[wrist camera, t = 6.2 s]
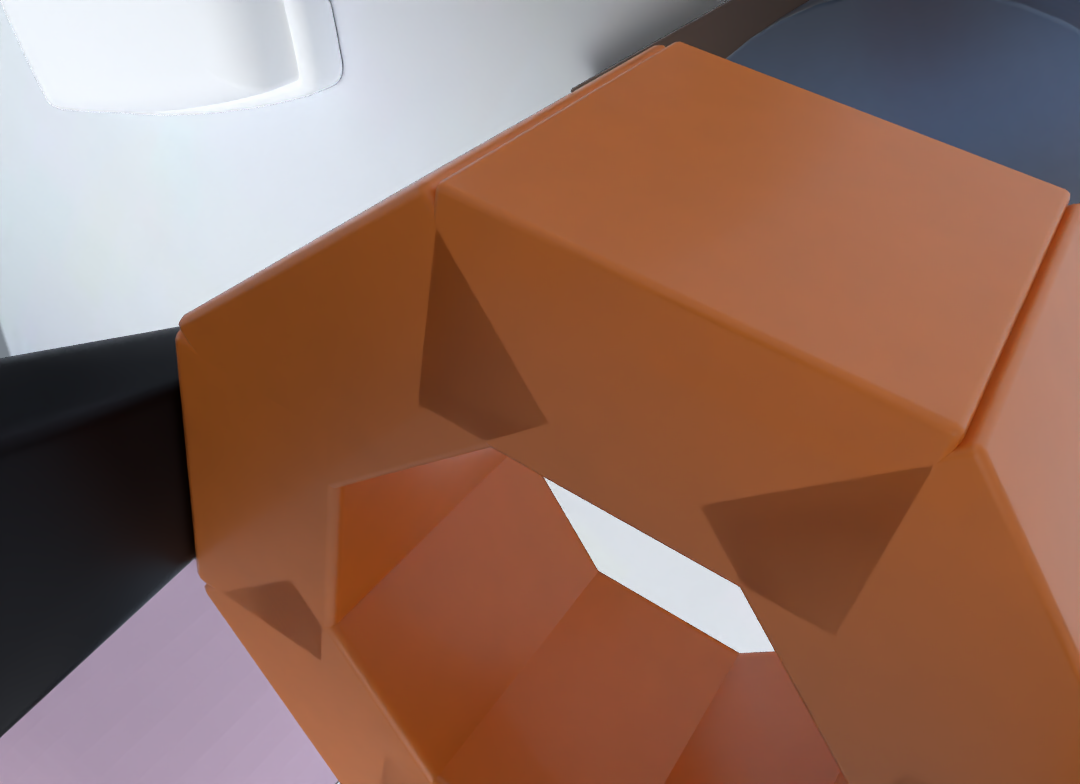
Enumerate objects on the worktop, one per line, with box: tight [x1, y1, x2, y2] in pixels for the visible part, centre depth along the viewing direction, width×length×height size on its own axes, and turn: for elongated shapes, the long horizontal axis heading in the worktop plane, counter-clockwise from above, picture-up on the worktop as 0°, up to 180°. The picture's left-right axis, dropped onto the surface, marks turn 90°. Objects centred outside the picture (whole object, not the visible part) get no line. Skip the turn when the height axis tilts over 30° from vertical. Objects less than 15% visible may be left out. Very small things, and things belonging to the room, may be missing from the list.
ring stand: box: [571, 0, 1080, 206], centre depth 15 cm, size 10×10×9 cm
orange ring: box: [175, 42, 1080, 784], centre depth 8 cm, size 7×7×3 cm
